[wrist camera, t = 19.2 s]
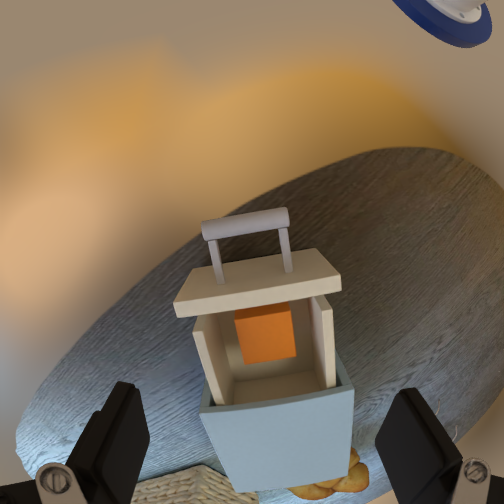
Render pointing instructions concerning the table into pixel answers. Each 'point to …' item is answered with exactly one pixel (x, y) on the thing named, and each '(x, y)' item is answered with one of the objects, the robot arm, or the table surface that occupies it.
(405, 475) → the robot arm
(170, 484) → the basket
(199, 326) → the beige drawer
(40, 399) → the table surface
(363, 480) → the bread roll
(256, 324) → the orange wooden block
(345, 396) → the blue drawer cabinet
